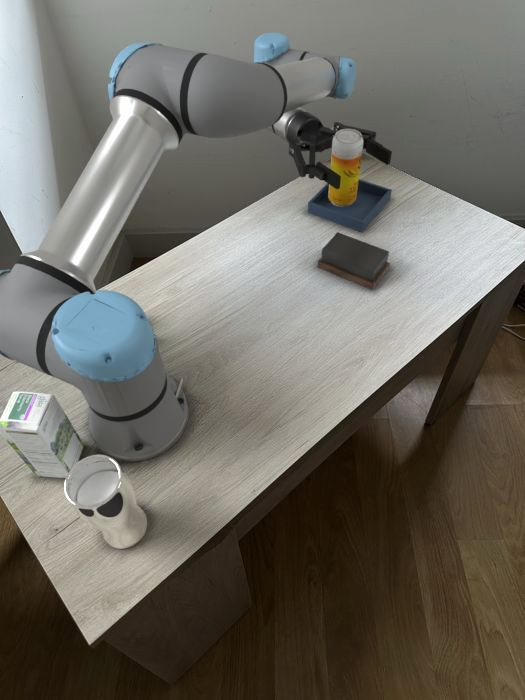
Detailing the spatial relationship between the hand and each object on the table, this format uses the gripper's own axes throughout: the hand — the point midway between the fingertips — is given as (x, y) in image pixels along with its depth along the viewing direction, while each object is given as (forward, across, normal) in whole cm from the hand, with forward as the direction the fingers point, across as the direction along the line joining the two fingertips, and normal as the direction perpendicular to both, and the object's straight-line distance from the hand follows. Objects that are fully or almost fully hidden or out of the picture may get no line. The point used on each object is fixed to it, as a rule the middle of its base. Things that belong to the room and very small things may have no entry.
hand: (365, 170), depth 103 cm
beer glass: (+31, +72, -11) cm, 79 cm away
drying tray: (-3, 0, -10) cm, 11 cm away
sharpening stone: (+12, +12, -10) cm, 20 cm away
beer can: (-5, 0, -10) cm, 11 cm away
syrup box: (+16, +75, -11) cm, 77 cm away
